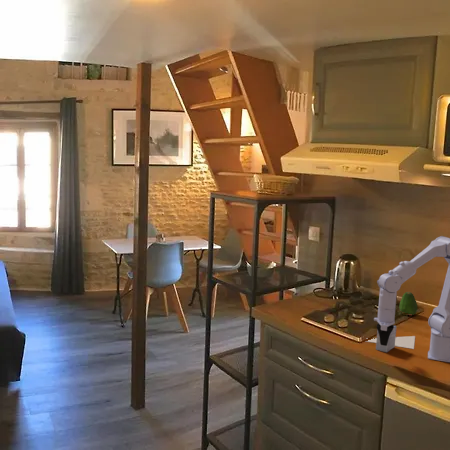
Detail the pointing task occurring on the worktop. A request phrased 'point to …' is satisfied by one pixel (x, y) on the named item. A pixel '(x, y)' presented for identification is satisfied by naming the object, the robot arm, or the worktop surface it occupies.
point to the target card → (401, 341)
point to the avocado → (408, 303)
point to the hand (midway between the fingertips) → (383, 344)
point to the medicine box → (389, 345)
